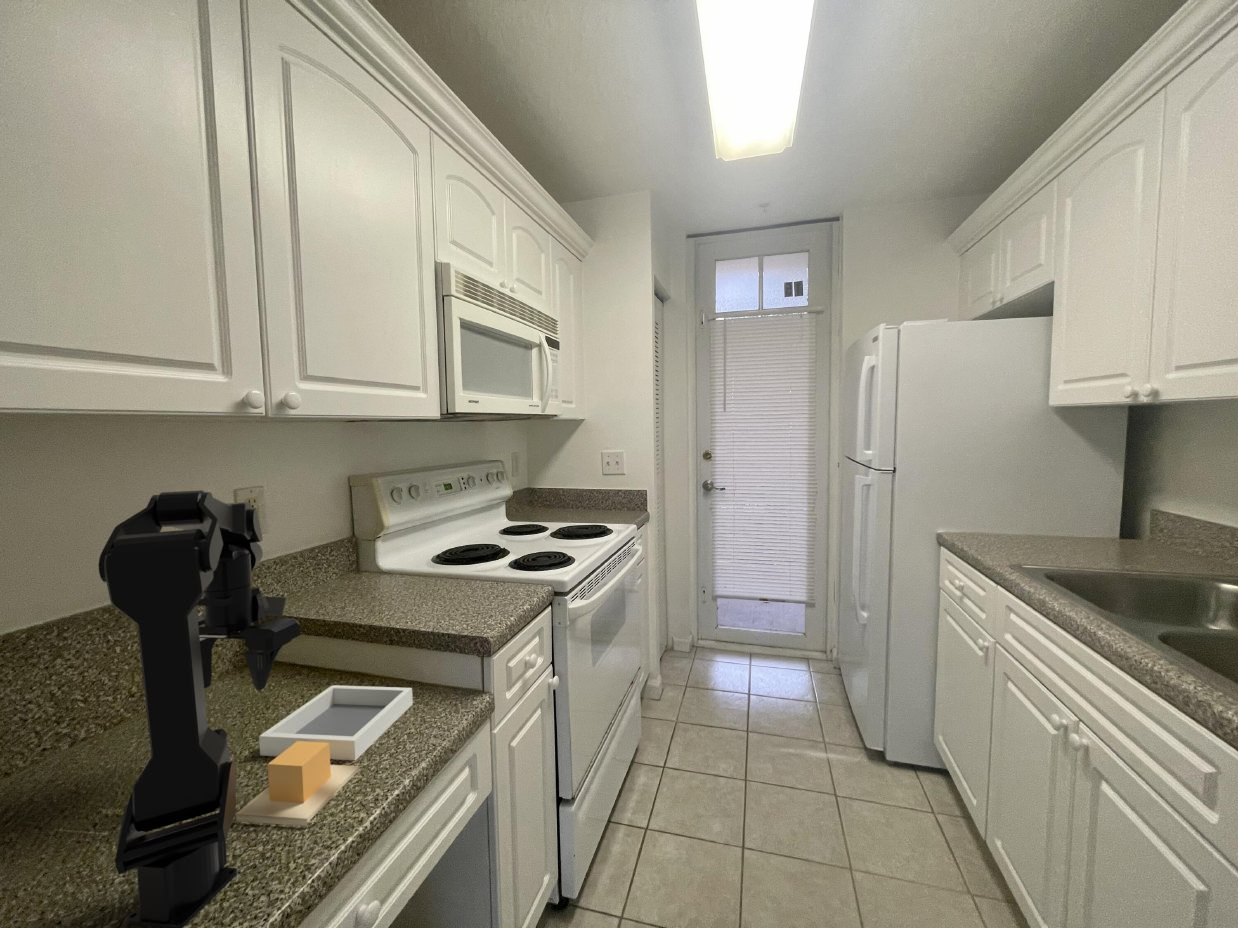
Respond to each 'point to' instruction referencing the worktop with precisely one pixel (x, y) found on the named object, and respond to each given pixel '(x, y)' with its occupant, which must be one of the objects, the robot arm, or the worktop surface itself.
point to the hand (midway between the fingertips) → (233, 688)
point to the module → (299, 771)
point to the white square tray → (340, 720)
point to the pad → (292, 811)
